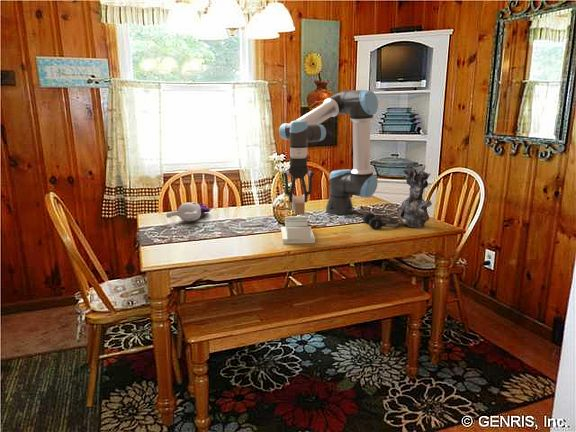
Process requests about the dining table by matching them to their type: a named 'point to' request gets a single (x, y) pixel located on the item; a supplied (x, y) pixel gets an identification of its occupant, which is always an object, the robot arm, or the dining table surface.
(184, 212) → the figurine
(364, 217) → the headset
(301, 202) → the tan wooden plank
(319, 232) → the dining table surface
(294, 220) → the stand
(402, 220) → the sculpture
